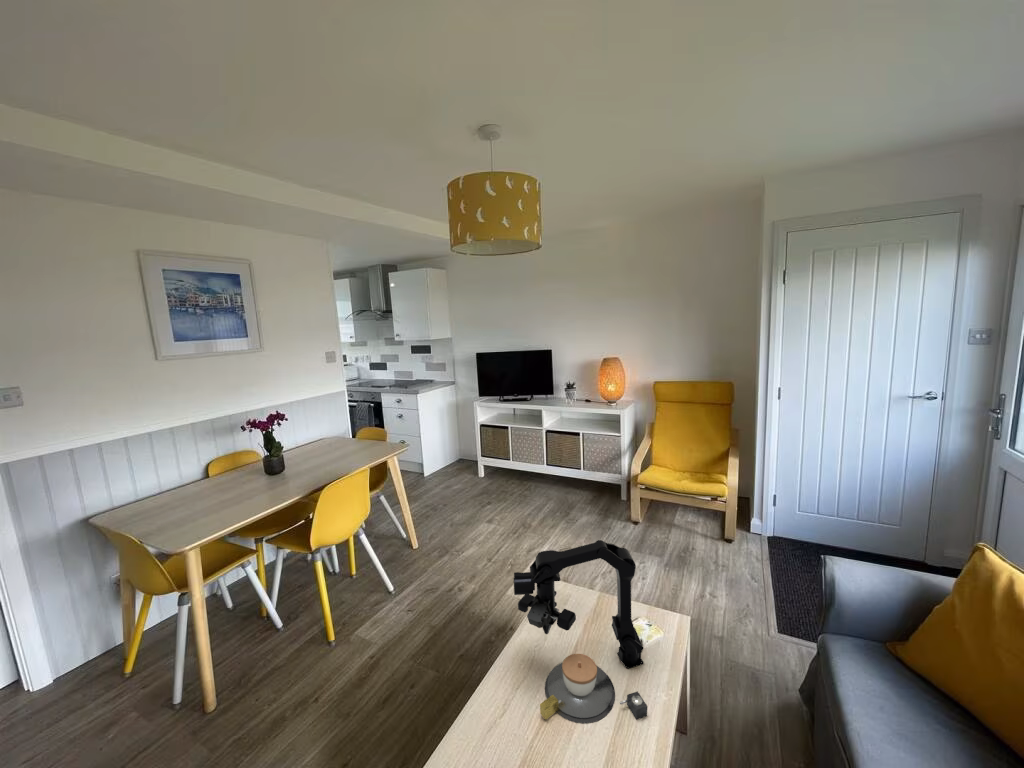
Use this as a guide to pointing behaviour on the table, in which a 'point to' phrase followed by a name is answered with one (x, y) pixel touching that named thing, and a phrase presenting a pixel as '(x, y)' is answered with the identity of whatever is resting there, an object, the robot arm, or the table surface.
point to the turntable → (576, 697)
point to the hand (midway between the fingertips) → (546, 633)
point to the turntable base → (584, 719)
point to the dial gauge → (636, 705)
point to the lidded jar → (579, 674)
